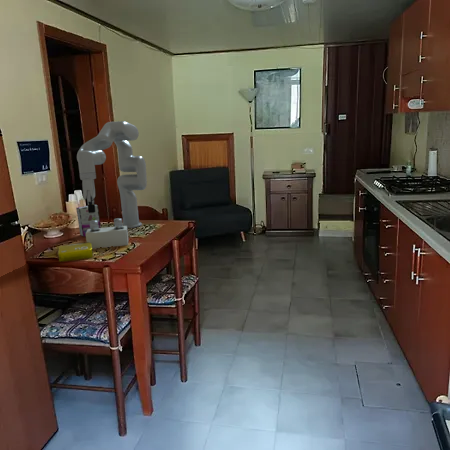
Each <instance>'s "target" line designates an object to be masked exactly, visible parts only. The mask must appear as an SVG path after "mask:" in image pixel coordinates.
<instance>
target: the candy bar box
mask: <svg viewBox="0 0 450 450" xmlns="http://www.w3.org/2000/svg"><path fill="white" fill-rule="evenodd" d="M75 210H76V216H77V221H78V230H79V235H80V236H82V237H86V234H85V233H86V232H87V230H88V229H90V221H92V220H98V227H99V228H102V226H101V222H100V220H101V219H100V212H99V206H98V205H97V204H95V212H94V213H89V212H88V205H84V206H79V207H76V209H75Z"/></svg>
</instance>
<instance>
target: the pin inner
mask: <svg viewBox="0 0 450 450" xmlns="http://www.w3.org/2000/svg"><path fill="white" fill-rule="evenodd" d="M113 224H114V226H113V227H115V230H119V229H123V226H122V224H123V217H122V218H120V217H117V218H113Z"/></svg>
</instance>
